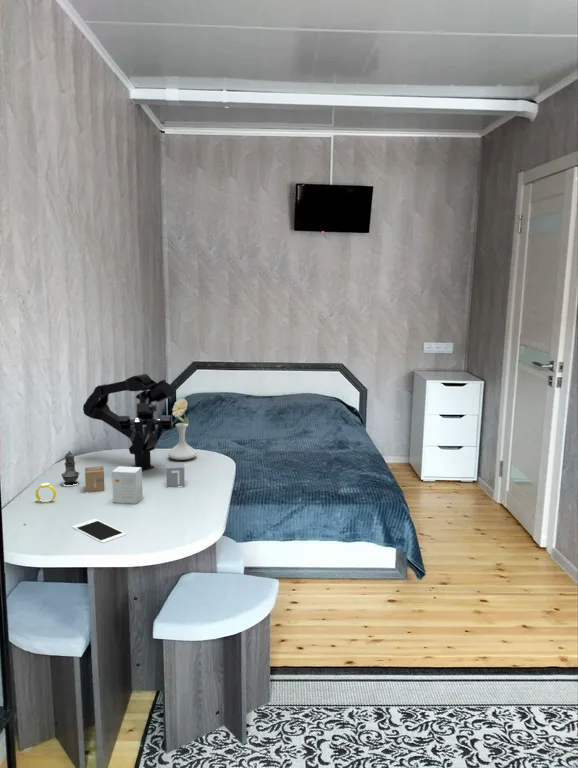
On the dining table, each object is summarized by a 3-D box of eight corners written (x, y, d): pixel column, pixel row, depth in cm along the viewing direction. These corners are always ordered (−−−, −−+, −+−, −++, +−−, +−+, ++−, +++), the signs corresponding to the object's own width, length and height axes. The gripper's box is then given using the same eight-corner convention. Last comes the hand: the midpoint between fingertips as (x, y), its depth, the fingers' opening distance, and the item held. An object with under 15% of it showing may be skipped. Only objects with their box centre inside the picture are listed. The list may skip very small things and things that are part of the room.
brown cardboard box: (85, 487, 207) (84, 466, 205) (104, 485, 209) (103, 465, 207) (85, 493, 201) (84, 472, 200) (104, 491, 203) (103, 470, 202)
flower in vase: (165, 455, 244) (163, 395, 240) (192, 452, 249) (192, 393, 244) (172, 464, 232) (171, 401, 228) (201, 461, 237) (200, 399, 233)
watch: (35, 504, 191) (33, 486, 190) (39, 501, 194) (36, 483, 193) (54, 502, 191) (52, 484, 190) (57, 499, 194) (55, 482, 193)
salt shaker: (58, 485, 208) (56, 451, 206) (70, 480, 213) (68, 447, 211) (71, 487, 205) (70, 453, 203) (83, 482, 211) (82, 449, 209)
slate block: (167, 482, 213) (166, 463, 212) (184, 481, 214) (184, 462, 213) (166, 488, 207) (166, 468, 206) (184, 487, 208) (184, 467, 207)
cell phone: (95, 520, 179) (95, 518, 179) (127, 535, 169) (127, 533, 169) (71, 528, 173) (71, 526, 173) (102, 544, 163) (102, 542, 163)
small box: (143, 498, 197) (142, 467, 195) (136, 504, 192) (135, 472, 190) (119, 496, 198) (118, 465, 196) (112, 502, 192) (111, 471, 191)
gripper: (117, 393, 213) (112, 431, 204) (171, 393, 215) (168, 431, 206) (122, 410, 222) (117, 447, 214) (173, 410, 224) (171, 447, 215)
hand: (143, 443), depth 212 cm, fingers closed
